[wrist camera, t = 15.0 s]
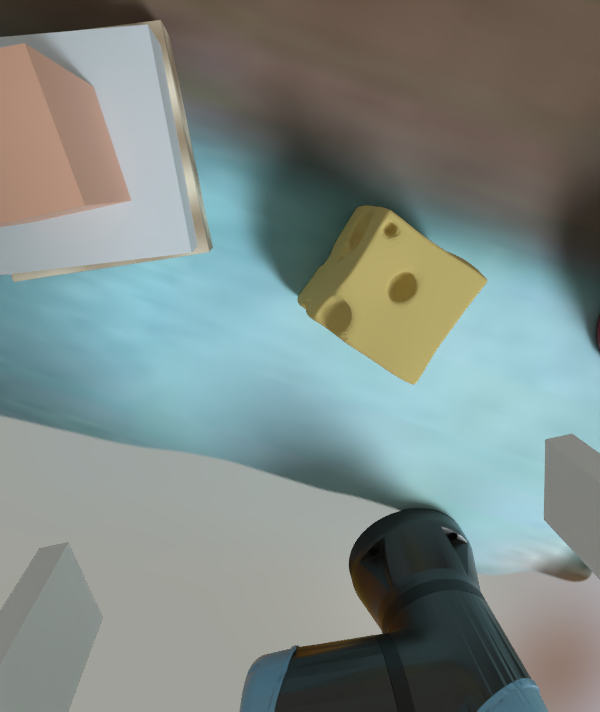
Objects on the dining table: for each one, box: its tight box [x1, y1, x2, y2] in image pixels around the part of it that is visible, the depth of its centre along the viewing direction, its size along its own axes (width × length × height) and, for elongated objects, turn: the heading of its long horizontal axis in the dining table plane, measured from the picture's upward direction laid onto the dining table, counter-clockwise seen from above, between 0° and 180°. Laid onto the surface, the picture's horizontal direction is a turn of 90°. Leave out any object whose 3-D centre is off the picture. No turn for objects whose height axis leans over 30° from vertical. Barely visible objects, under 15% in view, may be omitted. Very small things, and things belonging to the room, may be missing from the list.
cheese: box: [298, 205, 487, 384], centre depth 37 cm, size 10×11×10 cm
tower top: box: [0, 24, 198, 275], centre depth 31 cm, size 14×14×4 cm
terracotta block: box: [0, 43, 131, 227], centre depth 25 cm, size 7×7×9 cm
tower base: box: [11, 20, 213, 282], centre depth 34 cm, size 16×16×4 cm
